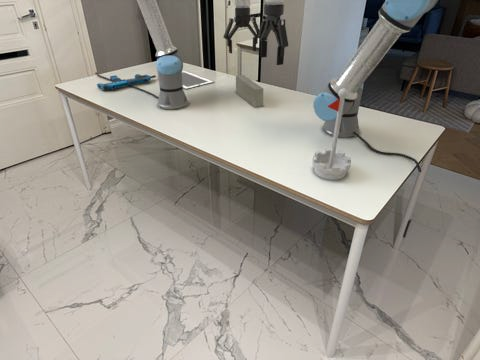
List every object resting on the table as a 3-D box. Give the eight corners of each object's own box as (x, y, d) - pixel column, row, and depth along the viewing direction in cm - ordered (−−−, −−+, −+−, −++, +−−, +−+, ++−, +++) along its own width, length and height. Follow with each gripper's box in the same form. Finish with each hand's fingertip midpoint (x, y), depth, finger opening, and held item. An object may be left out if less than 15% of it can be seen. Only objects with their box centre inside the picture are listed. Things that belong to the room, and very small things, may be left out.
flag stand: (334, 159, 128) (348, 80, 112) (356, 176, 118) (375, 92, 101) (304, 166, 124) (314, 84, 108) (324, 184, 114) (338, 97, 97)
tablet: (158, 77, 218) (158, 76, 218) (185, 71, 229) (185, 70, 229) (186, 89, 198) (186, 88, 197) (213, 82, 209) (213, 81, 208)
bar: (262, 106, 175) (263, 88, 170) (254, 107, 173) (255, 89, 168) (243, 91, 195) (243, 74, 190) (235, 92, 194) (235, 75, 189)
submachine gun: (141, 68, 224) (160, 74, 207) (142, 74, 226) (160, 81, 209) (89, 78, 206) (105, 86, 189) (91, 85, 207) (106, 93, 191)
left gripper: (262, 4, 174) (260, 48, 186) (216, 7, 166) (217, 52, 178) (268, 6, 168) (266, 51, 180) (221, 9, 160) (222, 55, 172)
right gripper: (250, 0, 137) (249, 55, 149) (282, 7, 118) (279, 69, 130) (266, 0, 140) (264, 53, 151) (300, 6, 121) (295, 66, 132)
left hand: (242, 51), depth 179 cm, fingers open, 13 cm apart
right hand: (271, 60), depth 141 cm, fingers open, 13 cm apart
